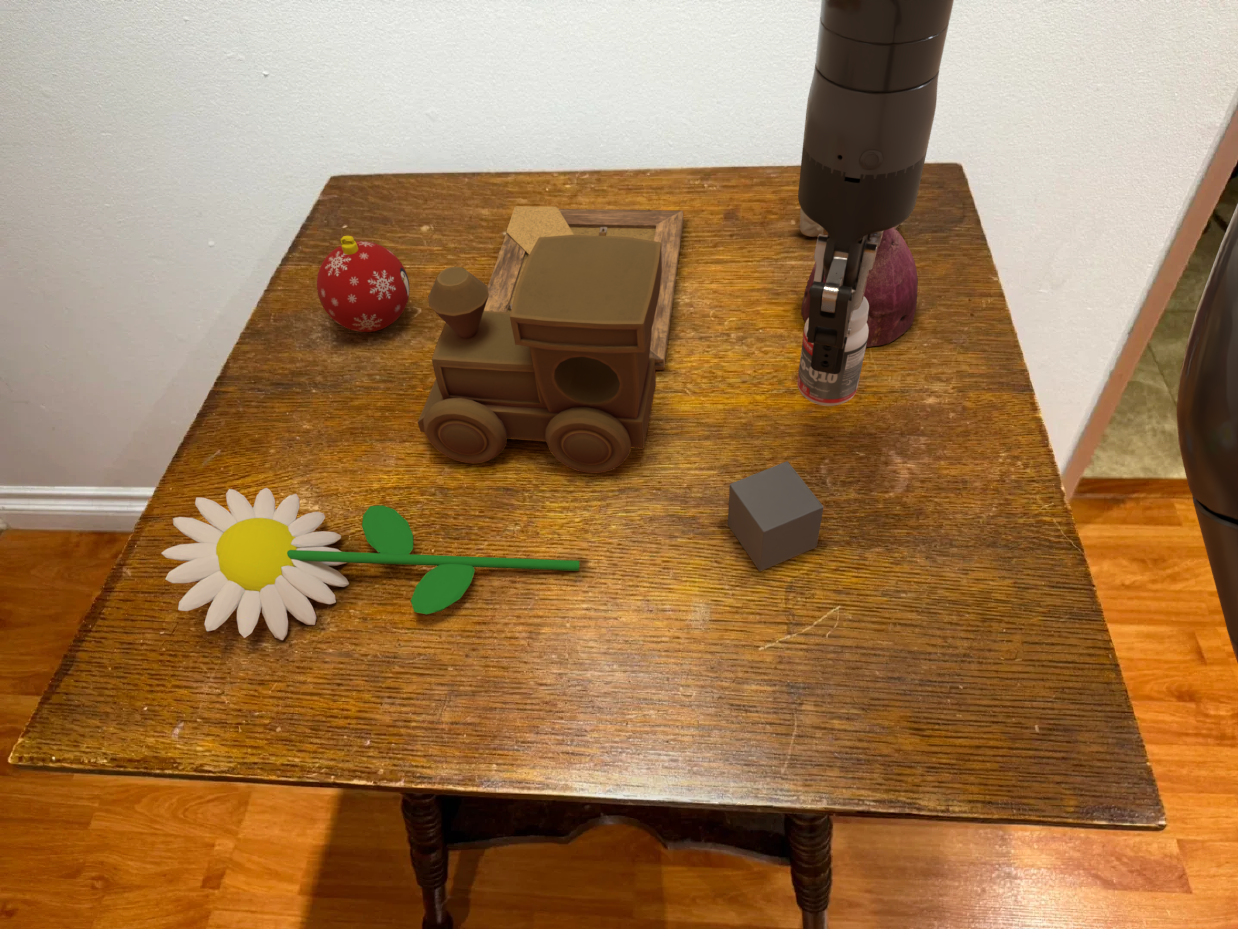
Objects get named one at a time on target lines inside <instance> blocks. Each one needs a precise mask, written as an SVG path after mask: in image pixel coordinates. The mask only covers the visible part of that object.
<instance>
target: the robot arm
mask: <svg viewBox="0 0 1238 929" xmlns="http://www.w3.org/2000/svg"><path fill="white" fill-rule="evenodd" d="M820 2H821V3H820V13H819V23H818V33H817V43H816V52H815V54H816V55H815V62H814V69H813V74H812V79H811V82H810V88H809V91H808V96H807V102H806V109H805V110H806V111H805V118H804V119H805V120H804V130H803V139H802V142H803V143H802V150H801V159H800V160H801V162H800V172H799V179H798V180H799V182H798V192H797V197H798V198H797V200H798V204H799V207H800V209H802V210H803V212H804V213H805V214H806V215H807V216H808V217H809V218H810V219H811V220H812V221H814V222H816V223H817V224H819V225H820V226H821V227H823V228H824V229H823V235H821V234H819V236H817V239H816V243H815V249H814V254H813V260H814V263H815V262H816V270H815V276H814V282H813V285H812V286H811V287H810V290H809V294H810V307H809V323H808V331H807V336H806V337H808V340H807V342H809V343H814V344H813V352H812V359H811V368H812V369H813V370H815V371H820V372H825V373H830V374H838V373H840V371H841V368H842V364H843V358H844V352H845V346H846V342H847V338H848V334H849V335H850V333H851V328H850V324H851V319H852V314H853V311H854V310H857V309H858V308H859V307H860V305H861V303H862V301H863V297H864V292H865V287H866V282H867V278H868V273H869V270H872V268H873V265H874V262H875V258H876V254H877V248H878V247H879V246H880V242H881V238H882V235H883V231H885V230H888V229H891V228H893V227H895V226H897V225H899V224H900V225H901V224H902V223H904V222H906V220H907V219H909V217H910V216H911V215H912V213H913V211H914V209H915V207H916V205H917V199H918V195H919V190H920V186H921V181H922V175H923V170H924V166H925V162H926V158H927V154H928V153H927V152H928V148H929V143H930V138H931V134H932V129H933V125H934V124H933V123H934V120H935V115H936V110H937V109H936V108H937V102H938V101H937V100H938V86H939V85H938V84H939V75H940V69H941V63H942V58H943V53H944V49H945V46H946V39H947V35H948V30H949V25H950V20H951V17H952V12H953V7H954V3H955V0H821V1H820ZM903 221H904V222H903ZM900 225H899V226H900ZM824 275H825V280H826V283H823V279H824ZM1204 286H1205V287H1204V289H1203V292H1202V293H1201V297H1200V300H1199V301H1198V305H1197V308H1196V311H1195V315H1194V318H1193V321H1192V324H1191V328H1190V331H1189V334H1188V337H1187V341H1186V345H1185V350H1184V354H1183V359H1182V364H1181V368H1180V373H1179V378H1178V379H1179V381H1178V388H1177V389H1178V390H1177V398H1176V424H1177V425H1176V426H1177V440H1178V447H1179V452H1180V457H1181V460H1182V465H1183V468H1184V473H1185V477H1186V481H1187V485H1188V489H1189V491H1190V493H1191V495H1192V496H1191V497H1192V504H1193V506H1194V510H1195V514H1196V518H1197V521H1198V526H1199V529H1200V532H1201V537H1202V540H1203V545H1204V548H1205V551H1206V555H1207V559H1208V563H1209V567H1210V570H1211V575H1212V578H1213V581H1214V585H1215V589H1216V592H1217V596H1218V600H1219V604H1220V607H1221V611H1222V616H1223V619H1224V623H1225V626H1226V630H1227V635H1228V638H1229V641H1230V645H1231V648H1232V651H1233V654H1234V657H1235V661H1236V662H1237V664H1238V203H1237V204H1236V206H1235V210H1234V211H1233V214H1232V217H1231V219H1230V222H1229V223H1228V226H1227V228H1226V231H1225V233H1224V235H1223V238H1222V240H1221V242H1220V245H1219V248H1218V251H1217V253H1216V256H1215V259H1214V262H1213V265H1212V267H1211V270H1210V273H1209V275H1208V278H1207V280H1206V284H1205V285H1204ZM852 290H855V292H852Z"/></svg>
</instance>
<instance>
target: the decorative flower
mask: <svg viewBox="0 0 1238 929" xmlns="http://www.w3.org/2000/svg"><path fill="white" fill-rule="evenodd" d="M225 498H226V505H227V507H228V510H229V511H228V510H227V509H226V508H225V507H223V506H222V505H221V504H219V503H218V502H216V501H215V500H212V499H209V498H206V497H198V496H197V497H195V502H194V506H195V507H196V508H197V510H198V512H199V514H200V515H201V516H202V517H203V518H204V519H205V520H206V521H207V522H208V523H206V522H204V521H202V520H199V519H196V518H194V517H187V516H186V517H185V516H178V517H174V518H173V517H172V523H173V526H174V527H175V528H176V529H177V530H178V531H180V532H181V533H182V534H183V535H184V536H186V537H188V538H189V539H191V540H193V541H195V542H194V543H181V544H176V545H174V546H171V547H168V548H166V549H164V550H163V551H162V552H161V553H160V554H161V555H162V556H163V557H165V558H166V559H170V560H174V561H180V562H184V563H181V564H180V565H178V566H177V567H175V568H173V569H172V570H170V571H169V572H168V573H167V575H166V577H165V580H166V581H168V582H169V583H171V584H189V583H195V582H197V583H196V584H195V585H193V586H192V587H191V588H190V589H189V590H188V591H187V592H186V593H185V594H184V595H183V596H182V598H181V599H180V600H179V602H178V611H183V612H189V611H192V610H196V609H199V608H202V607H203V606H205V605H206V604H208V603H210V602H211V604H210V606H209V608H208V609H207V613H206V616H205V619H204V623H203V624H204V628H205V630H206V632H211V631H215V630H217V629H218V628H220V627H221V626H222V625H223V624H224V623H226V621H227V620H228V619H229V618H230V616H231V615H232V614H233V613H234V611H236V624H237V630H238V633H239V634H240V635H241V636H242V637H243V638H244V639H245V638H247V637H248V636H249V635H251V634H253V631H254V629H255V628H256V627H257V624H258V622H259V618H260V613H262V616H263V618H264V621H265V623H266V626H267V627H268V630H269V631H270V632H271V634H272V635H273V636H274V638H275V639H278V640H280V641H284V639H285V638H286V637H287V636H288V629H289V620H288V612H289V614H291V615H292V616H293V617H294V618H295V619H296V620H298V621H299V622H301V623H303V624H304V625H307V626H315V625H316V621H317V615H316V612H315V610H314V607H313V605H312V603H311V602H310V600H309V599H308V598H310V599H311V600H314V601H315V602H318V603H321V604H325V605H332V604H335V603H337V600H336V594H334V592H333V590H331V589H330V587H329V586H332V587H339V588H340V587H341V588H345V587H347V586H349V585H350V582H349V581H348V579H347V578H346V577H345V576H344V575H343V574H342V573H341V572H340V571H339V570H337V569H336V568H333V567H336V566H340V565H344V564H349V563H350V564H351V563H352V564H375V565H376V564H377V565H401V566H402V565H403V566H404V565H405V566H429V567H430V566H433V568H432V569H430V570H429V571H427V572H426V573H425V574H424V576H422V578H421V579H420V581H419V582H418V583H417V584H416V585H415V588H414V591H413V593H412V596H411V599H410V603H411V607H412V609H413V612H414V613H417V614H423V615H430V614H434V613H440V612H443V611H444V610H445V609H448V607H450V606H452V605H453V604H454V603H456V602H457V601H459V600H460V599H461V598H462V597H463V596H464V594H465V593H466V592H467V590H468V589H469V588H470V586H471V583H472V581H473V578H474V575H475V573H476V569H475V568H482V569H483V568H485V569H486V568H488V569H509V570H510V569H511V570H512V569H513V570H514V569H515V570H538V571H539V570H544V571H564V572H565V571H569V572H580V560H577V559H575V560H572V559H550V558H549V559H546V558H545V559H544V558H521V557H520V558H518V557H493V556H467V555H466V556H465V555H441V554H439V555H438V554H416V553H415V554H412V553H411V552H412V551H413V550H414V534H413V531H412V528H411V527H410V523H409V522H408V520H407V519H406V518H405V517H403V516H402V515H401V514H400V513H399V512H398V511H397V510H395V509H394V508H392V507H389V506H386V505H383V504H382V505H370V506H369V507H368V508H367V509H366V511H365V512H364V513H363V514H362V522H361V527H362V531H363V534H364V537H365V539H366V542H367V543H368V544H369V545H370V546H371V548H373V549H374V550H375V551H376V552H358V551H357V552H356V551H341V550H339V549H338V548H334V547H328V546H330V545H333V544H336V543H337V542H338V541H340V540H341V539H342V535H341V534H339V533H338V532H335V531H326V530H323V531H322V530H319V531H316V529H318V528H319V527H320V526H321V525H322V524H323V523H324V520H325V518H326V515H325V513H324V512H320V511H312V512H308V513H305V514H303V515H301V516H299V517H297V515H298V513H299V510H300V507H301V506H300V498H299V496H298V494H297V493H294V494H290V495H289V494H288V496H287V497H285V498H283V499H282V500H281V502H280V504H279V505H278V506H277V507H276V499H275V496H274V494H273V492H272V491H271V490H270V488H268V487H264V488H263V489H261V490H259V491H258V493H257V495H256V497H255V499H254V503H253V506H252V504H251V503H250V502H249V500H248V499H247V498H246V496H245V495H243V494H242V493H240V492H239V491H238V490H236V489H234V488H233V489H232V488H228V490H227V491H226V493H225ZM328 585H329V586H328Z"/></svg>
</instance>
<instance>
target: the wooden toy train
mask: <svg viewBox="0 0 1238 929" xmlns="http://www.w3.org/2000/svg"><path fill="white" fill-rule="evenodd" d="M661 276H662V253H661V242H656V241H650V240H643V239H637V238H631V237H617V236H591V235H564V236H551V237H539V238H538V240H537V242H536V244H535V246H534V247H533V249H532V251H531V253H530V255H529V256H528V258H527V261H526V264H525V267H524V269H523V272H522V275H521V277H520V280H519V283H518V285H517V288H516V292H515V296H514V300H513V305H512V309H511V312H494V311H484V309H485V306H486V302H487V299H488V296H489V293H488V288H487V287H488V285H487V284H486V283H485V282H483V281H481V280H480V279H479V278H478V277H477V276H475V275H474V274H472V273H471V272H470V271H469V270H468V269H465V268H464V267H461V266H451V267H446V268H445V269H443V270H440V272H439V273H438V275H437V276H436V278H435V281H434V283H433V284H432V286H431V289H430V290H429V293H428V297H427V298H428V300H427V301H428V306H429V308H430V309H432V311H433V312H434V313H436V314H437V316H438V317H439V318H440V319H441V320H442V321H443V322H444V325H443V328H442V330H441V332H440V334H439V336H438V340H437V342H436V345H435V347H434V351H433V353H432V357H431V363H432V369H433V373H434V376H435V380H434V382H433V385H432V387H431V389H430V392H429V395H428V397H427V399H426V401H425V404H424V406H423V408H422V411H421V413H420V416H419V417H418V420H417V425H418V428H419V431H420V432H421V433H424V434H425V436H426V438H427V440H428V442H429V443H430V444H431V445H432V446H433V447H434V448H435V449H436V450H437V451H438V452H439V453H440V454H442V455H443V456H445V457H447V458H449V459H451V460H454V461H457V462H461V463H466V464H481V463H482V464H483V463H485V462H489V461H492V460H493V459H495V458H496V457H497V456H498V455H500V454H501V453H503V451H504V449H505V447H506V446H507V439H508V440H509V439H511V440H522V441H523V440H524V441H536V442H537V441H538V442H546V444H547V447H548V449H549V451H550V453H551V454H552V455H553V456H554V458H555V459H556V460H557V461H558V462H560V463H561V464H563V465H565V466H566V467H567V468H570V469H572V470H574V471H577V472H583V473H587V474H601V473H605V472H608V471H613V470H615V469H616V468H617V467H619V466H621V465H622V464H623V463H624V462H625V461H626V459H627V458H628V457H629V455H630V454H631V449H640V450H642V449H643V450H644V448H645V445H646V444H645V443H646V440H647V439H646V438H647V434H648V428H649V423H650V417H651V412H652V407H653V402H654V397H655V392H656V386H657V383H656V382H657V380H656V378H657V377H656V370H655V358H650V357H649V354H650V345H651V336H652V326H653V322H654V317H655V312H656V308H657V303H658V298H659V293H660V285H661Z"/></svg>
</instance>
